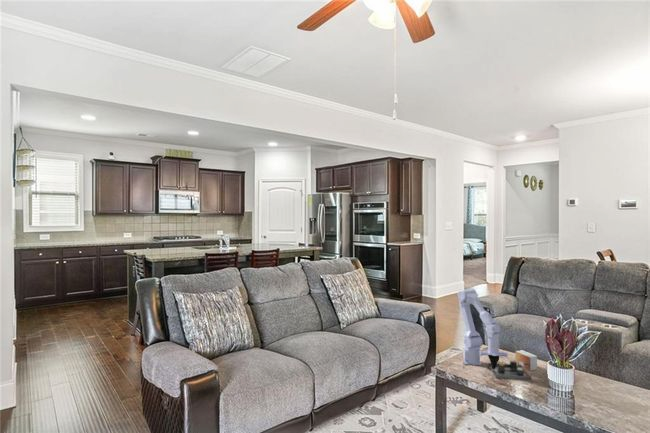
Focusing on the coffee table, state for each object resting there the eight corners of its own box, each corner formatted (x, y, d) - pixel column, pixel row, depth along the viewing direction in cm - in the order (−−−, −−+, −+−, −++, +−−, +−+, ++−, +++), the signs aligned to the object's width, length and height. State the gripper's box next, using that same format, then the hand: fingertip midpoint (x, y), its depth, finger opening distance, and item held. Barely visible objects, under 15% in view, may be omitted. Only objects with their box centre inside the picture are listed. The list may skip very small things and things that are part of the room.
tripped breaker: (499, 370, 212) (499, 364, 212) (498, 369, 214) (497, 362, 214) (504, 371, 211) (504, 364, 211) (503, 369, 213) (503, 362, 213)
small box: (515, 350, 224) (530, 357, 214) (522, 349, 226) (537, 355, 216) (515, 364, 224) (530, 371, 214) (522, 363, 226) (537, 369, 216)
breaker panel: (496, 378, 206) (496, 368, 206) (488, 366, 221) (488, 357, 221) (531, 380, 203) (531, 370, 203) (521, 368, 218) (521, 359, 218)
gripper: (481, 346, 211) (481, 370, 211) (509, 347, 208) (509, 372, 208) (478, 342, 217) (478, 365, 218) (505, 343, 215) (505, 366, 215)
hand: (493, 368), depth 213 cm, fingers closed
